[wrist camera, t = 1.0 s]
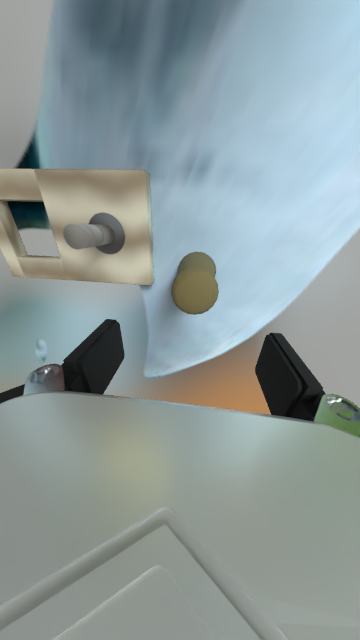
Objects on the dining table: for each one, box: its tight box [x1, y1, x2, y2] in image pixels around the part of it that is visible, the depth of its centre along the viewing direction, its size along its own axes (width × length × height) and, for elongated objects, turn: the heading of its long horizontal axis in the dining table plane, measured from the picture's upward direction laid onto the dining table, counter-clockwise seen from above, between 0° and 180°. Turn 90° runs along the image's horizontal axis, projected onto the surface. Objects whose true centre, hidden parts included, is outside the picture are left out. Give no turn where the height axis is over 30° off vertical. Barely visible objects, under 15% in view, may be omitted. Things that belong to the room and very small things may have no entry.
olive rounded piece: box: [172, 252, 219, 315], centre depth 22 cm, size 6×6×11 cm
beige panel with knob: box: [0, 169, 154, 285], centre depth 22 cm, size 14×24×9 cm, turn 89°
